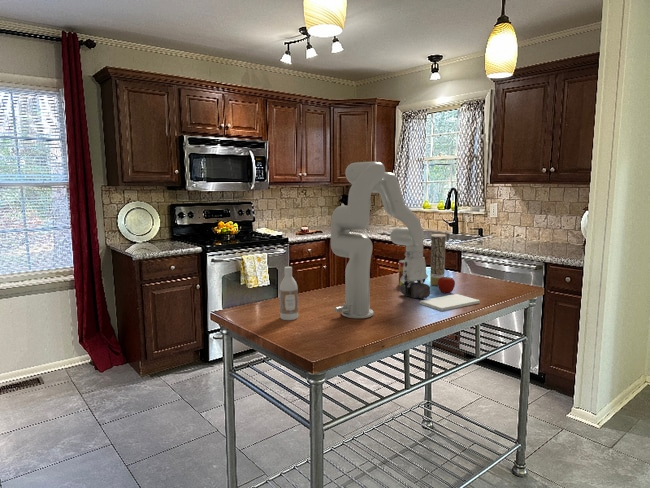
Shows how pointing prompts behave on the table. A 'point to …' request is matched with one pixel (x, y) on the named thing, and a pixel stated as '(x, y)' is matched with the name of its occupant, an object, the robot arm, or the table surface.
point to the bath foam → (288, 296)
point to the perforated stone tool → (417, 290)
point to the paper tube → (437, 258)
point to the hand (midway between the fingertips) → (413, 294)
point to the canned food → (401, 271)
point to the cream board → (449, 302)
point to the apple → (446, 284)
